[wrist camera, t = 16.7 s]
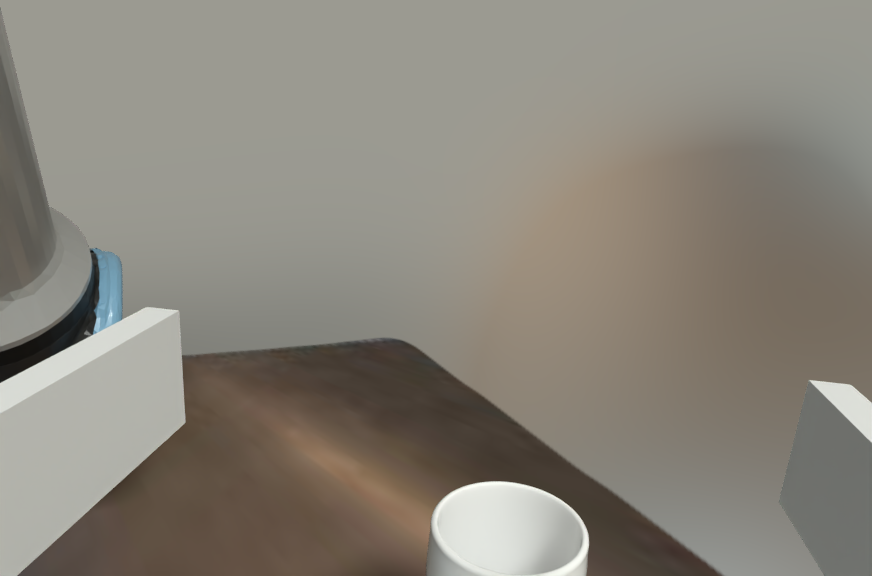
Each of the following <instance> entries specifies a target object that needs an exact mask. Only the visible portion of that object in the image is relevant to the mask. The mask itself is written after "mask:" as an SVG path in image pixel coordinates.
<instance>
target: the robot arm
mask: <svg viewBox="0 0 872 576" xmlns="http://www.w3.org/2000/svg"><path fill="white" fill-rule="evenodd" d="M184 423H185V407H184V390H183V372H182V355H181V338H180V320H179V311H177V310H168V309H159V308H150V307H146V308H144V309H142V310H140V311H138V312H136V313H134V314H132V315H131V316H129V317H127V318H125V319H123V320H122V264H121V261H120V258H119V257H118V256H117V255H115V254H114V253H112V252H105V251H101V250H100V249H97V248H96V249H89V246H88V244H87V241H86V239H85V237H84V235H83V234H82V232H81V231H80V229H79V228H78V227H77V226H76V225H75V224H74V223H73V222H72V221H71V220H69V219H68V218H67V217H65V216H64V215H63V214H62V213H60V212H58V211H56V210H55V209H53V208H51V207H49V205H48V201H47V197H46V192H45V188H44V185H43V180H42V176H41V173H40V168H39V164H38V160H37V156H36V152H35V148H34V143H33V139H32V135H31V131H30V127H29V123H28V119H27V115H26V111H25V107H24V103H23V99H22V95H21V91H20V86H19V82H18V78H17V74H16V70H15V67H14V62H13V58H12V54H11V50H10V46H9V42H8V37H7V33H6V30H5V25H4V21H3V17H2V13H1V9H0V576H17V575H18V574H19V573H20V572H21V571H22V570H24V569H25V568H26V567H27V566H28V565H29V564H30V563H31V562H32V561H34V560H35V559H36V558H37V557H38V556H39V555H40V554H41V553H42V552H43V551H45V550H46V549H47V548H48V547H49V546H50V545H51V544H52V543H53V542H54V541H56V540H57V539H58V538H59V537H60V536H61V535H62V534H63V533H64V532H65V531H67V530H68V529H69V528H70V527H71V526H72V525H73V524H74V523H75V522H76V521H78V520H79V519H80V518H81V517H82V516H83V515H84V514H85V513H86V512H87V511H89V510H90V509H91V508H92V507H93V506H94V505H95V504H96V503H97V502H99V501H100V500H101V499H102V498H103V497H104V496H105V495H106V494H107V493H108V492H110V491H111V490H112V489H113V488H114V487H115V486H116V485H117V484H118V483H119V482H121V481H122V480H123V479H124V478H125V477H126V476H127V475H128V474H129V473H130V472H132V471H133V470H134V469H135V468H136V467H137V466H138V465H139V464H140V463H141V462H143V461H144V460H145V459H146V458H147V457H148V456H149V455H150V454H151V453H152V452H154V451H155V450H156V449H157V448H158V447H159V446H160V445H161V444H162V443H163V442H165V441H166V440H167V439H168V438H169V437H170V436H171V435H172V434H173V433H175V432H176V431H177V430H178V429H179V428H180V427H181V426H182V425H183V424H184ZM779 503H780V505H781V506H782V508H783V509H784V511H785V513H786V514H787V516H788V517H789V519H790V521H791V522H792V524H793V526H794V527H795V529H796V530H797V532H798V534H799V535H800V537H801V538H802V540H803V542H804V543H805V545H806V547H807V548H808V550H809V551H810V553H811V555H812V556H813V558H814V560H815V561H816V563H817V564H818V566H819V568H820V569H821V571H822V572H823V574H824V576H872V403H871V402H870V401H869V400H868V399H866V398H865V397H864V396H863V395H862V394H861V393H860V392H858V391H857V390H856V389H855V388H854V387H853V386H851V385H847V384H839V383H829V382H821V381H812V380H809V382H808V386H807V390H806V394H805V398H804V402H803V406H802V410H801V415H800V419H799V422H798V426H797V431H796V434H795V439H794V443H793V447H792V451H791V455H790V459H789V463H788V467H787V471H786V475H785V479H784V483H783V487H782V491H781V495H780V499H779Z"/></svg>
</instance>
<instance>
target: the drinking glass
mask: <svg viewBox="0 0 872 576" xmlns="http://www.w3.org/2000/svg"><path fill="white" fill-rule="evenodd" d="M588 549H589V536H588V532H587V529H586V527H585V525H584V523H583V521H582V519H581V518H580V517H579V515H578V514H577V513H576V512H575V511H574V510H573V509H572V508H571V507H570V506H569V505H567V504H566V503H565V502H563V501H562V500H560V499H559V498H557V497H555V496H553V495H552V494H550V493H547V492H545V491H543V490H540V489H537V488H534V487H531V486H527V485H523V484H518V483H512V482H498V481H495V482H481V483H475V484H471V485H467V486H464V487H461V488H459V489H457V490H454V491H453V492H451V493H449V494H448V495H446V496H445V497H444V498H443V499H442V500H441V501H440V502H439V503H438V504H437V506H436V507H435V509H434V511H433V514H432V517H431V526H430V534H429V542H428V552H427V562H426V576H586V575H587V562H588Z"/></svg>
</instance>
